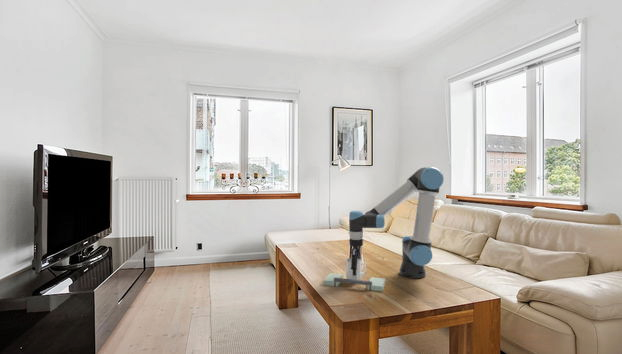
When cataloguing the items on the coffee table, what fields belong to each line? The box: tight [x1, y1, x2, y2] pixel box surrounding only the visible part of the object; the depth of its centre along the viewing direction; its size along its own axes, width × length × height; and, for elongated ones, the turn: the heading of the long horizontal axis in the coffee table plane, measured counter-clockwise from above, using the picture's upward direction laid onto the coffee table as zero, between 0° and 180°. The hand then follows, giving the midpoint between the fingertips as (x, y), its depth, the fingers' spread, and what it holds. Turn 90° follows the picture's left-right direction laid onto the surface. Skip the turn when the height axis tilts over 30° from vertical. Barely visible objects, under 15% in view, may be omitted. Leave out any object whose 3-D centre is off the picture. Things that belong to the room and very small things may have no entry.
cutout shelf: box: [323, 272, 386, 292], centre depth 178 cm, size 32×13×4 cm, turn 71°
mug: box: [345, 257, 367, 280], centre depth 183 cm, size 9×12×11 cm
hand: (356, 278), depth 183 cm, fingers closed on mug, 9 cm apart
